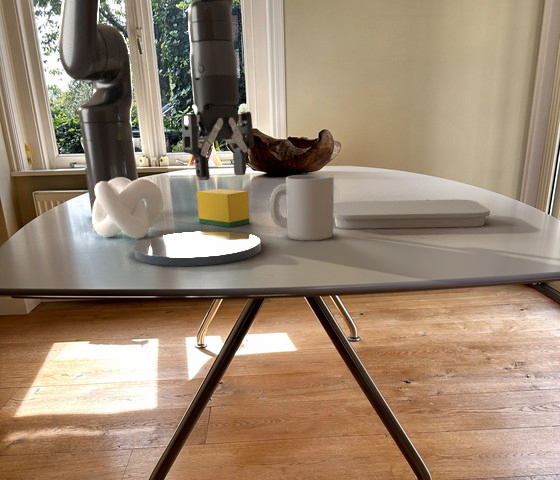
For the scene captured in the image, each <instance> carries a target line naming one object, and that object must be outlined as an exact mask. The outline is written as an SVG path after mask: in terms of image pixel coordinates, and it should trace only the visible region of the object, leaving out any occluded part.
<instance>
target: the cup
mask: <svg viewBox="0 0 560 480" xmlns="http://www.w3.org/2000/svg"><path fill="white" fill-rule="evenodd" d="M334 183H335V181H334V175H331V174H296V175H288V176H286V177H285V183H281V184H279V185H277V186H275V188H274V189H273V190H272V192H271V194H270V197H269V213H270V217H271V219H272V221H273V223H274V224H275V225H276V226H277V227H278V228H282V229H286V231H287V236H288V237H289V239H292V240H296V241H321V240H327V239H330V238H332V236H333V235H334V218H333V203H334V194H335V193H334V192H335V191H334V188H335V187H334ZM284 195H286V217H283V215H282V213H281V206H280V205H281V199H282V196H284Z"/></svg>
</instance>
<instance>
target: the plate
mask: <svg viewBox="0 0 560 480" xmlns="http://www.w3.org/2000/svg"><path fill="white" fill-rule="evenodd" d="M261 251H262V240H261V239H260V238H259V237H257V236H255V235H252V234H248V233H242V232H233V231H194V232H182V233H173V234H166V235H161V236H156V237H151V238H148V239H145V240H142V241H140V242H138V243H136V244H135V245H134V246H133V254H134V258H135V259H136V260H137V261H139V262H141V263H145V264H150V265H154V266H155V265H156V266H166V267H200V266H212V265H220V264H226V263H227V264H228V263H232V262H238V261H242V260H245V259H249V258H252V257H255V256H256V255H258V254H259V253H260V252H261Z"/></svg>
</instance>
